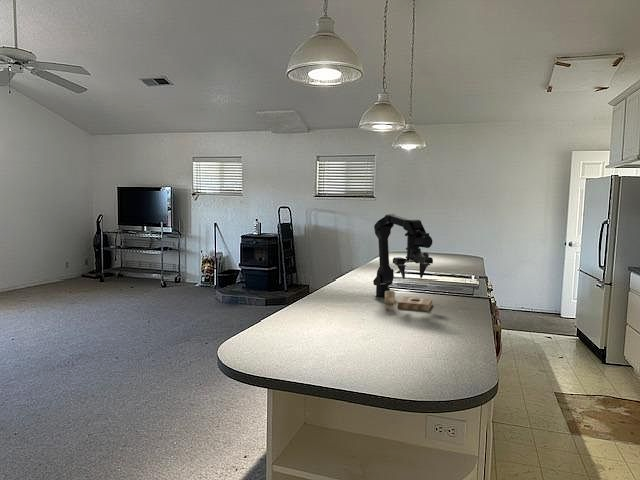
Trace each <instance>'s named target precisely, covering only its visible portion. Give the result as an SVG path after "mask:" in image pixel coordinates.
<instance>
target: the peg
mask: <svg viewBox="0 0 640 480" xmlns="http://www.w3.org/2000/svg"><path fill="white" fill-rule="evenodd" d="M384 304H385V310H386V311H388V312H389V311H394V305H395V304H396V291H394V290H390V291H385V298H384Z"/></svg>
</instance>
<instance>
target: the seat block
mask: <svg viewBox="0 0 640 480" xmlns="http://www.w3.org/2000/svg"><path fill="white" fill-rule="evenodd" d="M432 305H433V298H429V297H417V296H415V297H414V296H405V295H404V296H402V297H401V298H400V300H398V301H397V309H399V310H400V309H402V310H410V311H422V312H429V310H430V309H431V307H432Z"/></svg>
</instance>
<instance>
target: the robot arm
mask: <svg viewBox="0 0 640 480" xmlns="http://www.w3.org/2000/svg"><path fill="white" fill-rule="evenodd" d="M395 225H396V226H399V227H402V228H403V230H405V231H406V232H405V233H404V236H405V237H406V238H407V240H406V243H407V244H406V248H405V250H406V256H405V258H404V257H400V256H398V257H393V259H392V264H394V265H395V266H397V269H398V270H399V272H400V274H401V277H402V279H403V280H404V279H405V278H406V273H405V272H406V269H405V268H406V266H407V265H406V263H407V264H408V263H410V264H411V263H414V264H419V277H420V279H422V278H423V277H424V275H425V271H426V270H427V268H428V267H429V266H431V264H433V263H434V260H433V257H430V255H429V252H422V250H421V248H424V249H425V248H426V249H429V248H431V247H432V245H433V239H432V237H431V236H430V233H429V232H426V231H427V230H425V226H424V225H423V223H422V220H420V219H408V218H406V217H402V216H398V215H396V214H392V213H390V214H389V213H388V214H385V215H384V217H382V218H380V219H379V220H377V221H376V223H375V224H374V226H373V228H374V234H375V236H376V237H377V239H378V258H379V266H378V269H377V271H376V276H375V278H374V279H373V281H372V282H373V283H372V284H373V285H374V286H376V287H375V288H376V289H375V298H384V299H385V291H391V288H390V286H392V285H393V281H394V278H395V275H394V269H393V268H392V267H391V266H390V254H389V237H390V236H391V231H392V228H394V226H395Z"/></svg>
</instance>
